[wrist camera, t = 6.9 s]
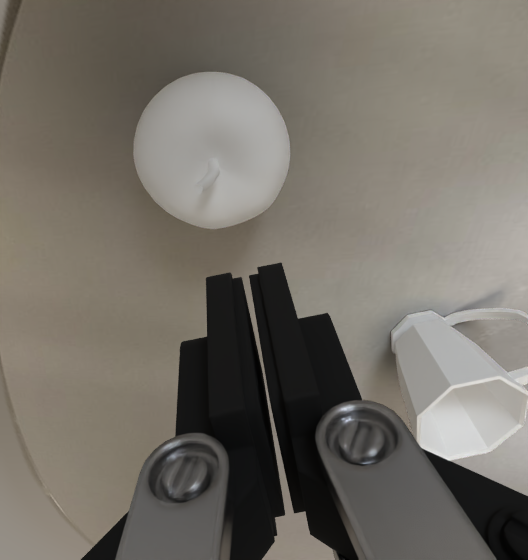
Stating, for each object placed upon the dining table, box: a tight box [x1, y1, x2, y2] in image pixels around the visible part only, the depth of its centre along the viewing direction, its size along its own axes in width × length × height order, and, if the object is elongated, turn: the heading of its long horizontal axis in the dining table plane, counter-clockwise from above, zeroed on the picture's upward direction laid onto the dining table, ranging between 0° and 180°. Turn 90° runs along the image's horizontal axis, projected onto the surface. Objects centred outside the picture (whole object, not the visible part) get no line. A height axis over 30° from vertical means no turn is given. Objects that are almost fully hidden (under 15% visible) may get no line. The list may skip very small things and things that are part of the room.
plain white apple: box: [133, 72, 291, 229], centre depth 22 cm, size 7×7×8 cm
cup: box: [391, 308, 528, 461], centre depth 31 cm, size 7×10×8 cm
